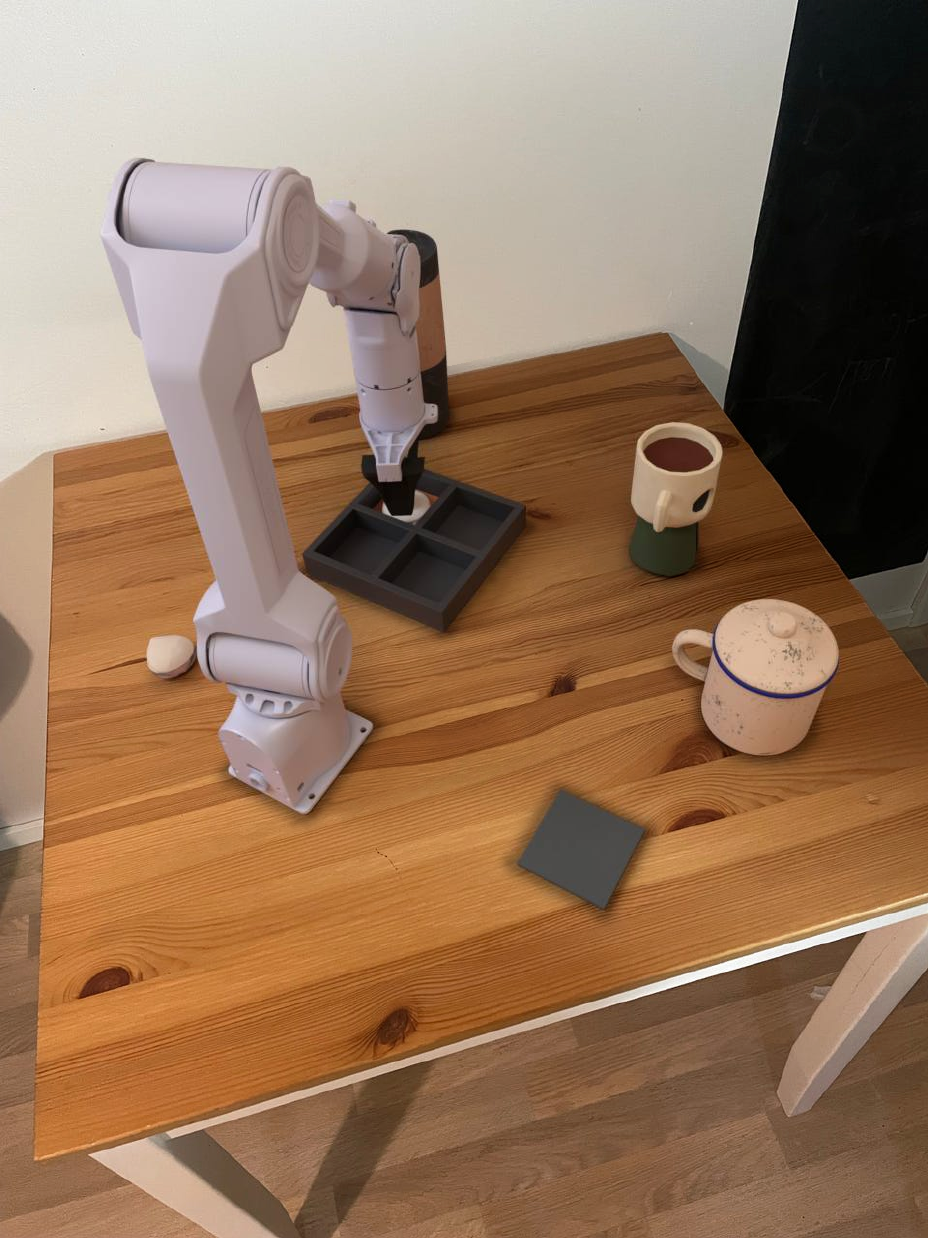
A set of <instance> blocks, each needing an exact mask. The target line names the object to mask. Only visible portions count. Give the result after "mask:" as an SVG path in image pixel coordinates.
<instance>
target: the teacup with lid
mask: <svg viewBox="0 0 928 1238" xmlns="http://www.w3.org/2000/svg"><path fill="white" fill-rule="evenodd" d="M824 621H825V620H823V619H822V618H821V617H820V616H818V615H817V614H816V613H814V612H813V611H811V610H809V609H808V608H806V607H803V606H801V605H799V604H797V603H795V602H790V601H786V600H781V599H776V598H775V599H773V598H762V599H754V600H750V601H747V602H744V603H740V604H738V605H736V606H735V607H733V608H731V609H730V610H729V611H728V612H727V613H725V615H723V617H722V618H720V620H719V621H718V623H717V625H716V626H715V628H714V631H713V633H711V632H708V631H705V630H702V629H693V628H692V629H685V630H682V631H680V632H678V634H677V635H676V636H675V638H674V639H673V642H672V645H671V652H672V657H673V659H674V661H675V663H676V665H677V666H678V667H679V668H680V669H681V670H682V671H683V672H684V673H685V674H687V675H689V676H691V677H693V678H694V679H697V680H699V681H702V682H704V686H703V689H702V695H701V699H700V708H701V709H700V711H701V714H702V717H703V720H704V722H705V724H706V726H707V727H708V729H709V731H711V733H712V734H713V735H714V736H715V737H716V739H718V740H719V741H720V742H721V743H723V744H725V745H726V746H728V747H730V748H732V749H733V750H736V751H738V752H740V753H744V754H748V755H754V756H774V755H779V754H783V753H786V752H788V751H790V750H792V749H793V748H795V747H796V746H798V745H799V744H800V743H801V742H802V741H803V740H804V739H805V737H806V736H807V734H808V733H809V730H810V727H811V725H812V722H813V720H814V718H815V715H816V713H817V711H818V708H819V705H820V703H821V700H822V699H823V697H824V693H825V691H826V688H827V686H828V684H830V682H831V681H832V680H833V678H834V677H835V675H836V673H837V671H838V668H839V665H840V652H839V645H838V642H837V639H836V637H835V635H834V633H833V632H832V630H831V628H830V627H829V626H828V624H826V622H824ZM688 644H692V645H698V646H701V647H705V648H707V649H710V650H712V651H711V656H710V661H709V665H708V667H707V666H706V665H702V664H700V663H698V662H696V661H695V660H693V659H692V658H691V657H690V656H689V655H688V653H687V652H686V650H685V648H684V645H688Z"/></svg>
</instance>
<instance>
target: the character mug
mask: <svg viewBox="0 0 928 1238" xmlns="http://www.w3.org/2000/svg"><path fill="white" fill-rule="evenodd" d="M722 459H723V447H722V444H721V443H720V441H719V439H718V438H717V437H716V436H715V434H713V433H711V432H710V431H709V430H706V428H703V427H701V426H698V425H695V424H692V423H689V422H675V421H672V422H667V423H666V422H665V423H661V424H656V425H654V426H652V427H651V428H649V429H647V430H645V431H644V432H643V433H642V434H641V436H639V438H638V439H637V444H636V449H635V459H634V466H633V467H634V468H633V477H632V485H631V497H630V502H631V506H632V508H633V509H634V511H635V513H636V515H637V519H636V522H635V525H634V528H633V532H632V534H631V539H630V543H629V546H628V551H629V555H630V558H631V560H632V561H633V562H634V563H636V565H638V566H639V567H640V568H641V569H644V570H646V571H648V572H650V573H654V574H657V575H663V576H667V577H672V576H676V575H681V574H685V573H687V571H688V570H690V569H691V568H693V566H695V562H696V555H699V554H698V551H699V521H702V520H703V519H704V518H706V517H707V516H708V515H709V513H710V511H711V509H712V507H713V503H714V499H715V495H716V492H717V491H716V490H717V485H718V478H719V472H720V467H721V464H722Z"/></svg>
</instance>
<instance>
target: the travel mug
mask: <svg viewBox="0 0 928 1238" xmlns="http://www.w3.org/2000/svg"><path fill="white" fill-rule="evenodd" d="M386 234H392V235H403V236H405V237H406V238H407V240H408V242H409V244H410V243H414V244H415V245H416V247H417V249H418V253H419V255H420V284H419V305H420V309H419V318H418V320H417V322H416V323H415V325H416V334H417V343H418V353H419V362H420V372H421V381H422V390H423V393H424V394H426V395H427V396H428V404H435V405H437V407H438V420H437V422H435V423H430V424H426V425H424V427H423V428H422V430H421V431H420V434H419V440H423V439H428V438H431V437H433V436H436V435H438V434H439V433H441V432H442V431H444V430H445V428H446V427H447V425H448V423H449V419H450V409H449V408H450V404H449V382H448V379H449V378H448V358H447V357H448V356H447V343H446V342H447V341H446V333H445V332H446V331H445V321H444V308H443V300H442V299H443V298H442V288H441V287H442V285H441V278H440V277H441V275H440V265H439V256H438V255H439V254H438V246H437V243H436V241H435V239H434V238H433V237H432V236H431V235H429V234H427V233H425V232H423V231H419V230H414V229H403V228H402V229H392V230H389V231H388V232H386Z"/></svg>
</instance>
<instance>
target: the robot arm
mask: <svg viewBox="0 0 928 1238" xmlns="http://www.w3.org/2000/svg"><path fill="white" fill-rule="evenodd" d="M356 211H357V205H356V203H354V202H353V201H352V200H350V199H341V198H340V199H338V198H331V199H330V200H329V203H325V204H318V203H317V201H316V197H315V192H314V187H313V182H312V179H311V178H310V176H307V175H303V174H302V173H300V171H298V170H297V169H296V168H293V167H291V166H277V167H276V168H274V169H270V168H256V167H253V168H252V167H240V166H224V165H209V164H196V163H195V164H192V163H179V162H165V161H155V160H154V159H151V158H145V157H133V158H130V159H128V160H127V161H125V162H124V163H123V164H122V165H121V166H120V167H119V169H118V170H117V172H116V174H115V176H114V177H113V181H112V184H111V187H110V189H109V193H108V198H107V204H106V208H105V213H104V217H103V221H102V226H101V230H100V234H99V235H100V238H101V242H102V244H103V247H104V251H105V254H106V257H107V259H108V262H109V266H110V268H111V272H112V274H113V278H114V280H115V284H116V287H117V289H118V293H119V296H120V299H121V302H122V304H123V305H122V306H123V308H124V312H125V314H126V317H127V320H128V323H129V326H130V329H131V331H132V333H133V334H134V335H135V336H136V337H137V338H138V339H139V340H140V341H141V343H142V344H141V345H142V350H143V354H144V360H145V364H146V365H145V367H146V369H147V372H148V376H149V380H150V383H151V387H152V389H153V392H154V396H155V399H156V402H157V404H158V408H159V410H160V413H161V417H162V420H163V422H164V426H165V430H166V432H167V435H168V437H169V441H170V444H171V447H172V449H173V450H172V451H173V453H174V456H175V459H176V462H177V465H178V468H179V472H180V474H181V477H182V480H183V483H184V486H185V489H186V493H187V495H188V498H189V502H190V505H191V508H192V511H193V513H194V517H195V520H196V523H197V526H198V529H199V532H200V535H201V537H202V538H201V539H202V541H203V544H204V547H205V550H206V553H207V556H208V559H209V562H210V566H211V569H212V571H213V573H214V577H215V580H214V581H213V582H212V583H211V584H210V585H209V587H208V588H207V589H206V591H205V592H204V593H203V596H202V597H201V599H200V601H199V602H198V605H197V608H196V610H195V613H194V616H193V618H192V623H193V624H194V627H195V630H196V638H197V641H196V654H197V655H196V658H197V661H198V665H199V667H200V670H201V672H202V675H203V676H204V677H205V679H207V680H208V681H209V682H212V683H219V684H220V683H225V685H226V687H227V690H228V692H229V694H232V695H235V696H236V698H235V700H234V705H233V707H232V709H231V711H230V713H229V715H228V717H227V718H226V719H225V721H224V722H223V724H222V725H221V727H220V728H219V730H218V731H217V737H218V740H219V742H220V745H221V746H222V749H223V751H224V753H225V755H226V757H227V759H228V761H229V764H230V765H229V767H228V773H229V775H230V776H232V777H233V778H236V779H237V780H239V781H240V782H243V783H245V784H246V785H248V786H250V787H252V788H254V789H255V790H257V791H259V792H261V793H262V794H264V795H266V796H268V797H270V798H272V799H273V800H276V801H278V802H279V803H281V804H283V805H284V806H286V807H288V808H289V809H291V810H293V811H295V812H297V813H299V814H301V815H307V814H309V813H310V812H311V811H312V810H313V809H314V807H315V806H316V804H317V803H318V802H319V801H320V799H321V798H322V797H323V795H324V794H325V793H326V791H327V790H328V789H329V788H330V786H331V785H332V783H334V781H335V780H336V778H337V777H338V776H339V775H340V773H341V772H342V771H343V769H344V768H345V767H346V765H348V763H349V761H350V760H351V759H352V757H353V756H354V755H355V754H356V753H357V751H358V749H360V747H361V745H362V744H363V743H364V742H365V741H366V739H367V738H368V736H370V734H371V733H372V731H373V729H374V724H373V722H372V721H370V720H368V719H366V718H364V717H362V716H360V715H358V714H356V713H354V712H352V711H350V710H348V709H346V708H345V703H344V699H343V697H342V692H341V690H342V689H343V687H344V686H345V684H346V681H347V678H348V676H349V672H350V669H351V664H352V659H353V651H354V648H353V647H354V641H353V640H354V638H353V633H352V629H351V627H350V625H349V624H348V621H347V618H345V617H344V616H343V615H342V614H341V612H340V607H339V605H338V599H337V597H336V596H335V595H334V594H333V593H331V592H330V591H329V590H327V589H325V588H324V587H322V586H321V585H320V584H318V583H316V582H315V581H314V580H312V579H311V578H309V577H308V576H307V575H305V574H304V573H302V572H301V571H300V570H299V566H298V562H297V558H296V554H295V549H294V546H293V541H292V537H291V532H290V527H289V525H288V520H287V516H286V512H285V511H286V510H285V507H284V503H283V498H282V494H281V490H280V487H279V482H278V478H277V473H276V469H275V464H274V461H273V456H272V452H271V448H270V443H269V440H268V435H267V431H266V427H265V422H264V418H263V414H262V410H261V406H260V401H259V397H258V393H257V389H256V385H255V379H254V375H253V372H252V370H253V369H252V368H253V365H254V364H256V363H258V362H260V361H262V360H264V359H266V358H268V357H270V356H273V355H274V354H276V353H278V352H281V351H282V350H283V349H284V348H285V345H286V344H287V343H286V342H287V340H288V337H289V334H290V332H291V329H292V327H293V326H294V323H295V321H296V318H297V315H298V312H299V310H300V307H301V304H302V302H303V299H304V297H305V293H306V291H307V289H308V286H309V285H310V286H312V287H314V288H315V289H318V290H320V291H322V292H325V294H326V297H327V301H328V303H329V304H330V306H331V307H332V308H335V307H336V306H338V307H339V306H340V307H342V308H343V309H342V311H343V317H344V322H345V327H346V334H347V340H348V347H349V351H350V357H351V362H352V363H351V364H352V370H353V376H354V381H355V388H356V393H357V399H358V404H359V410H360V411H359V414H358V415H359V423H360V426H361V428H362V431H363V433H364V435H365V437H366V440H367V442H368V444H369V447H370V449H371V451H372V453H373V454H362V455H361V461H360V462H361V463H360V470H361V474H362V477H363V478H364V480H366V481H368V483H371V484H372V485H373V486H374V487H375V488H376V489H377V490H378V492H379V494H380V495H381V497H382V499H383V501H384V503H385V505H386V507H387V509H388V511H389V513H390V514H391V516H411V515H412V513H413V509H414V500H415V489H416V485H417V483H418V481H419V479H420V478H421V476H422V473H423V470H424V469H425V459H426V457H425V456H419V440H420V439H419V434H420V431H421V430H422V428H423V427H424V425H426V424H430V423H435V422H437V420H438V407H437V405H435V404H428V396H427V395H426V394H424V393H423V390H422V381H421V372H420V362H419V353H418V343H417V334H416V325H415V323H416V322H417V320H418V318H419V309H420V305H419V284H420V255H419V253H418V249H417V247H416V245H415V244H414V243H410V244H409V242H408V240H407V238H406V237H405V236H403V235H392V234H387V233H384V232H383V231H381V230H380V229H378V228H377V223H376V221H374V220H373V219H371V218H363V217H362V216H360V215H359V214H358V213H357V212H356ZM408 450H409V451H408ZM407 452H408V454H407V457H406V456H405V455H406V453H407ZM362 731H364V732H362ZM311 797H314V798H312V799H311Z"/></svg>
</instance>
